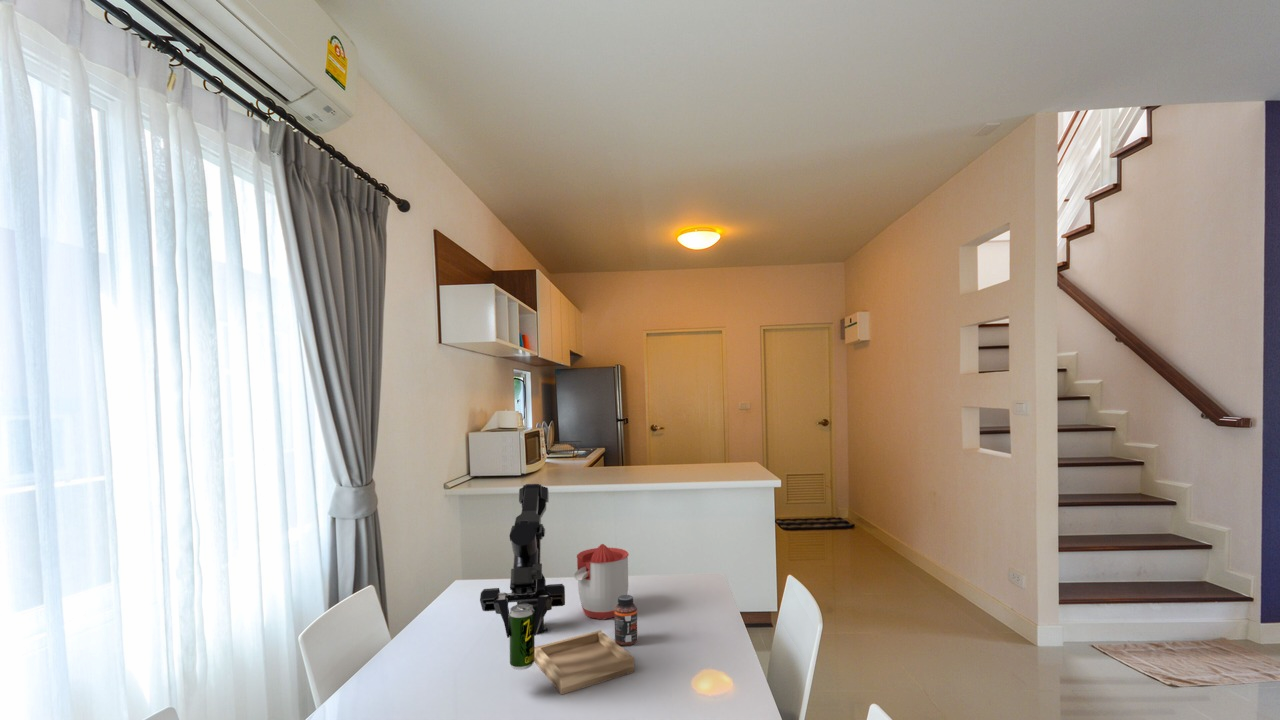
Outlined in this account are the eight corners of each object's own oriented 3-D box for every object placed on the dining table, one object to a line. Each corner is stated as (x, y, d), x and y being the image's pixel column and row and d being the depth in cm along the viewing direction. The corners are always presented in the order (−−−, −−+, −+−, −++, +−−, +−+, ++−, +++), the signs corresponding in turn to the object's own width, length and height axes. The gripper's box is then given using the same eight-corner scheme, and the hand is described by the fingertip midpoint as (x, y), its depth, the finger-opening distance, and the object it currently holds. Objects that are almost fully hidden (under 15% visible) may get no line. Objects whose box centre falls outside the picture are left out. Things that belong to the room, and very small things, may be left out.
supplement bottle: (635, 647, 137) (633, 601, 138) (612, 646, 139) (611, 600, 140) (639, 637, 143) (638, 593, 144) (618, 636, 144) (617, 592, 145)
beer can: (505, 669, 116) (504, 611, 117) (517, 657, 121) (516, 602, 122) (527, 671, 115) (527, 613, 116) (539, 659, 120) (538, 604, 121)
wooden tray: (533, 661, 132) (533, 647, 132) (600, 642, 141) (600, 630, 141) (561, 694, 116) (561, 679, 116) (634, 671, 125) (634, 657, 125)
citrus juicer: (562, 614, 161) (561, 545, 162) (608, 598, 172) (606, 534, 174) (594, 629, 149) (592, 555, 151) (640, 612, 161) (639, 543, 162)
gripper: (481, 553, 123) (472, 623, 111) (564, 548, 125) (563, 616, 113) (486, 577, 130) (479, 645, 118) (565, 572, 132) (565, 638, 120)
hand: (521, 636), depth 117 cm, fingers closed on beer can, 5 cm apart
